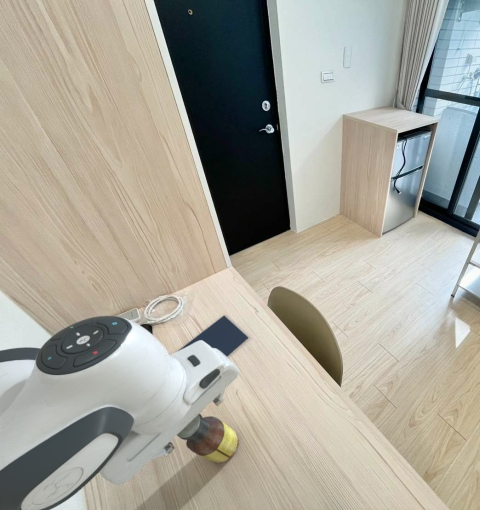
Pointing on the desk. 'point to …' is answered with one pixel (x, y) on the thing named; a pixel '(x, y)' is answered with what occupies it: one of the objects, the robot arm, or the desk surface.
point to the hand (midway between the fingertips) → (195, 423)
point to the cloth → (221, 336)
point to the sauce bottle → (210, 438)
